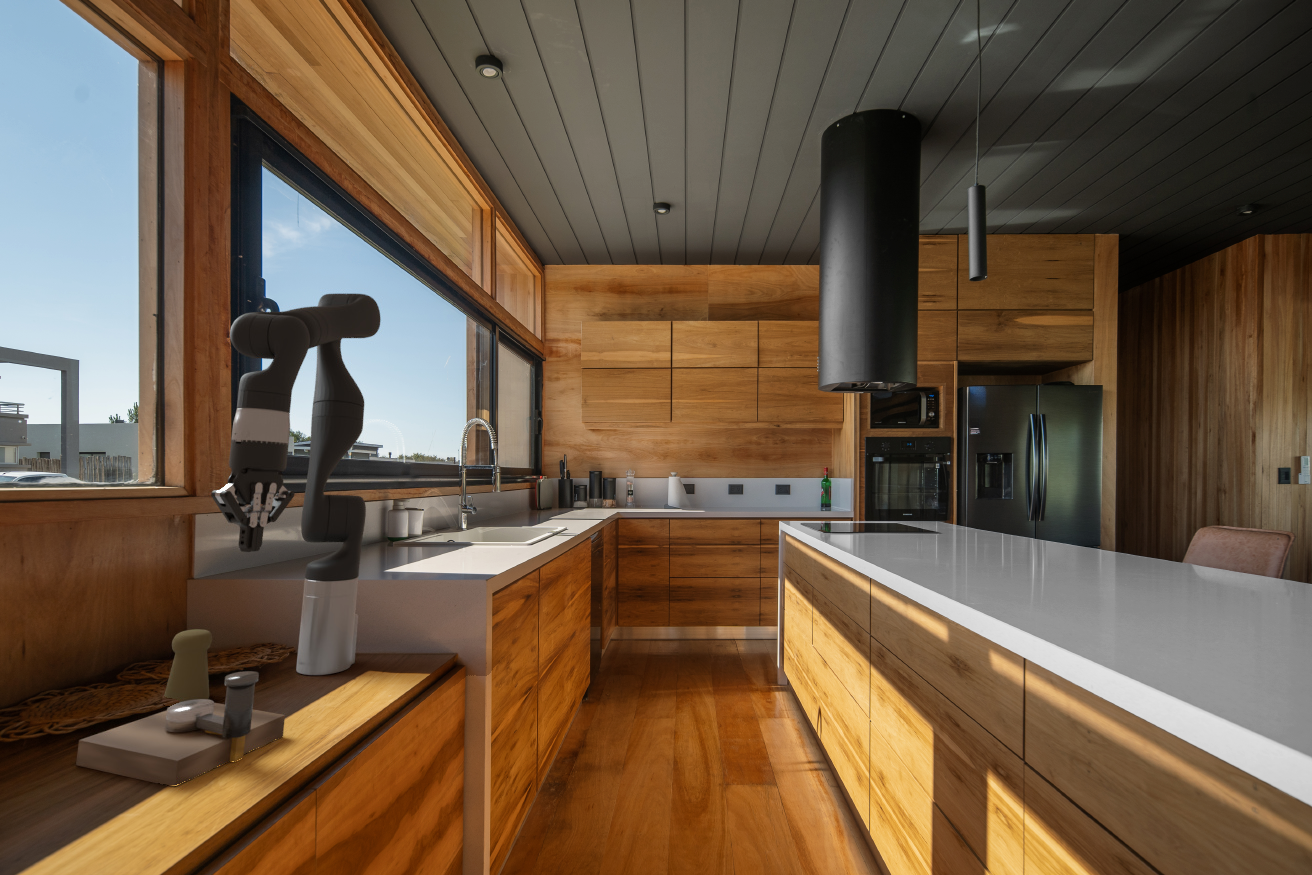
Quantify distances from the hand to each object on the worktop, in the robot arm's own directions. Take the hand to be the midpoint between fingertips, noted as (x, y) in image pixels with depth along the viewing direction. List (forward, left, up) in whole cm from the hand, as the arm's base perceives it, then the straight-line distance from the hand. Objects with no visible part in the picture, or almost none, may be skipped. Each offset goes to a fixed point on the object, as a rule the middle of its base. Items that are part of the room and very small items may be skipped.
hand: (249, 551), depth 92 cm
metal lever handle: (+10, +8, -22) cm, 25 cm away
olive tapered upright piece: (-3, -13, -25) cm, 29 cm away
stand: (+10, +4, -25) cm, 27 cm away
